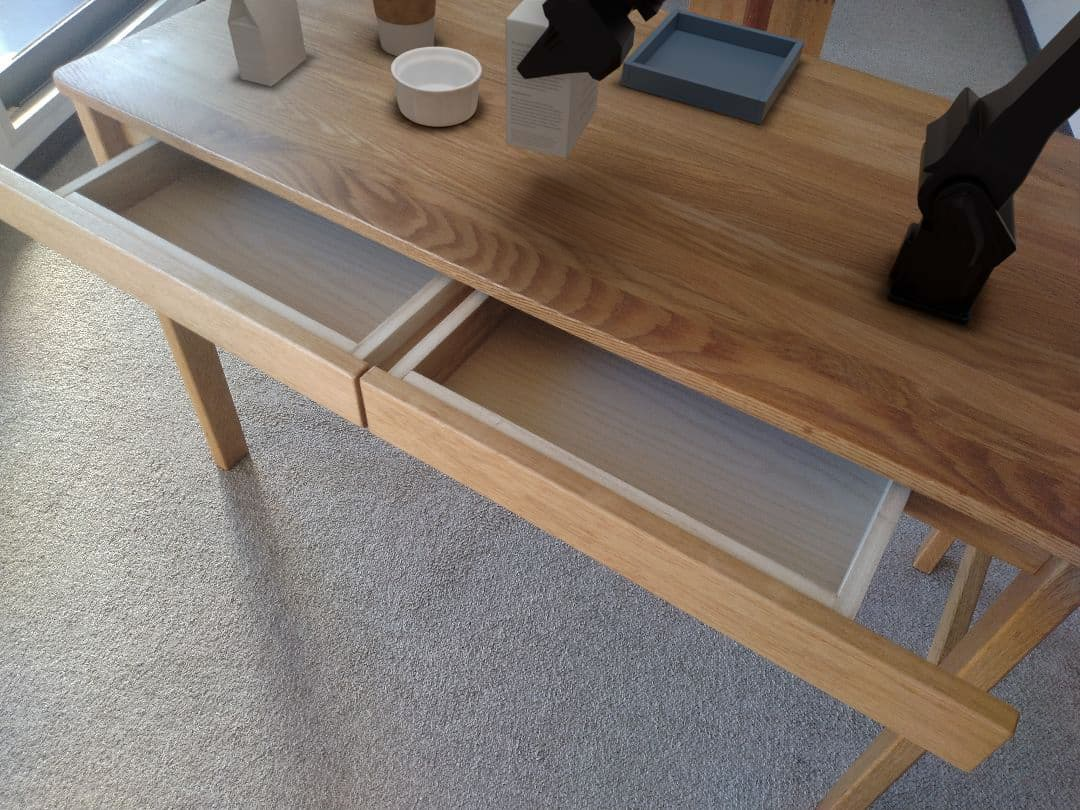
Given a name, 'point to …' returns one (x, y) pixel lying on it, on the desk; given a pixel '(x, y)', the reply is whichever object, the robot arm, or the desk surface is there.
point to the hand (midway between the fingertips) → (538, 49)
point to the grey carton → (266, 39)
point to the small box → (543, 92)
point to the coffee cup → (405, 24)
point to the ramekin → (436, 85)
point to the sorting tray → (713, 65)
